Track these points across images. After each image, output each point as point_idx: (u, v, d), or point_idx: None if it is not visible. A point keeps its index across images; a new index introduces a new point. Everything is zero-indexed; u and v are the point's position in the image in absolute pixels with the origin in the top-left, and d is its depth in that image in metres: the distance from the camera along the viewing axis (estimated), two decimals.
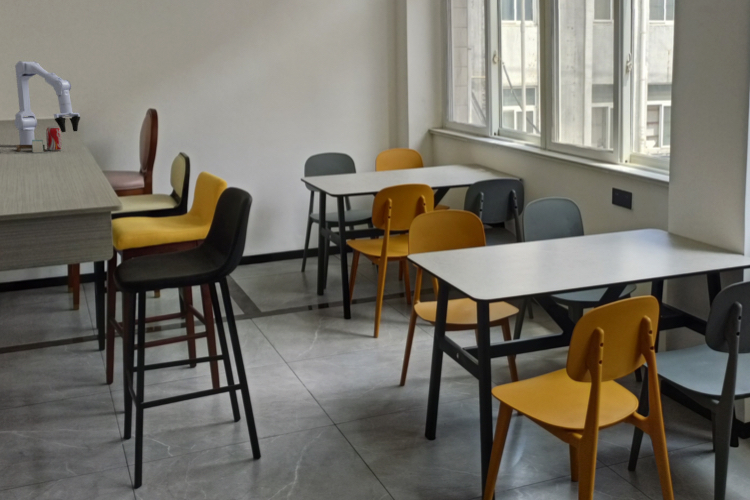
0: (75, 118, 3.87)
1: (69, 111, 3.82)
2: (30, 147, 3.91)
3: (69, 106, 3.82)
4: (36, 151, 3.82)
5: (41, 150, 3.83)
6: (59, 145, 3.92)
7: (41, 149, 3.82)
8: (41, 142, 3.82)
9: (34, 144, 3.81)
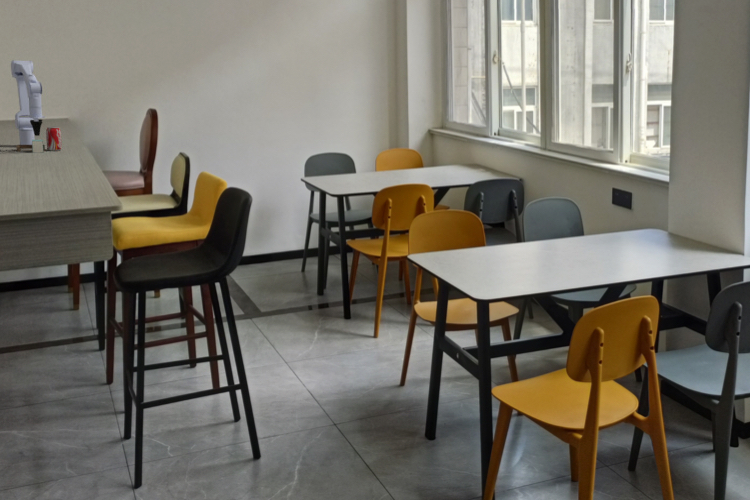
0: (39, 121, 3.85)
1: (41, 115, 3.81)
2: (30, 147, 3.91)
3: (41, 110, 3.80)
4: (36, 151, 3.82)
5: (41, 150, 3.83)
6: (59, 145, 3.92)
7: (41, 149, 3.82)
8: (41, 142, 3.82)
9: (34, 144, 3.81)
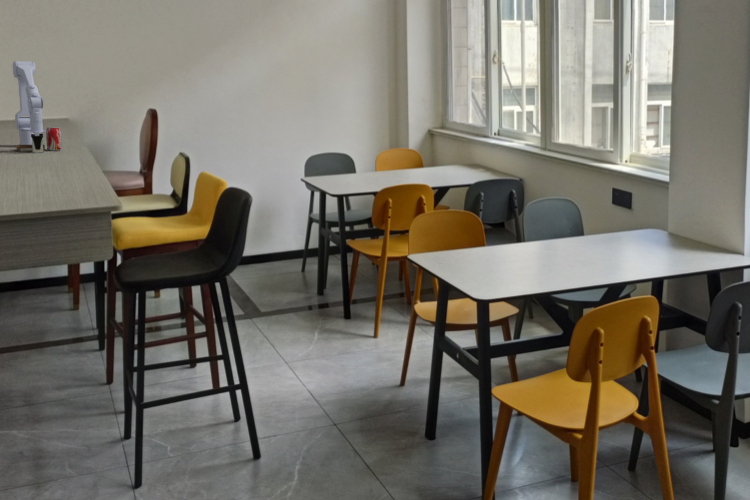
0: (40, 135, 3.85)
1: (42, 129, 3.82)
2: (30, 147, 3.91)
3: (42, 124, 3.82)
4: (36, 151, 3.82)
5: (41, 150, 3.83)
6: (59, 145, 3.92)
7: (41, 149, 3.82)
8: (41, 142, 3.82)
9: None
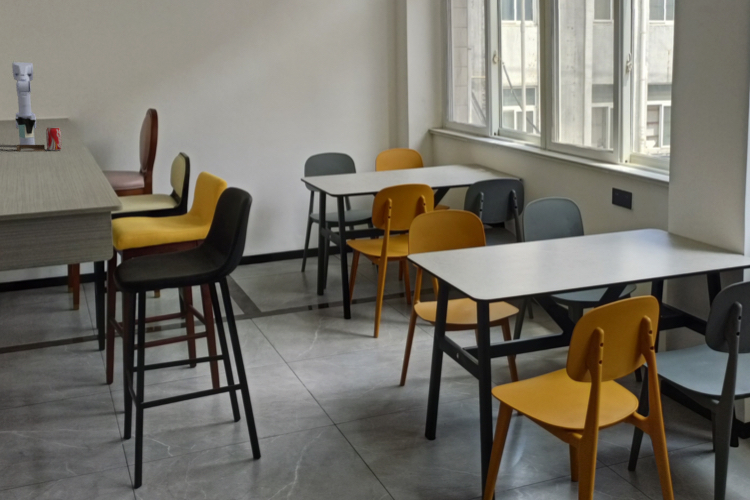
0: None
1: None
2: (30, 147, 3.91)
3: None
4: (27, 136, 3.84)
5: (32, 135, 3.86)
6: (59, 145, 3.92)
7: (32, 134, 3.86)
8: None
9: (25, 129, 3.83)
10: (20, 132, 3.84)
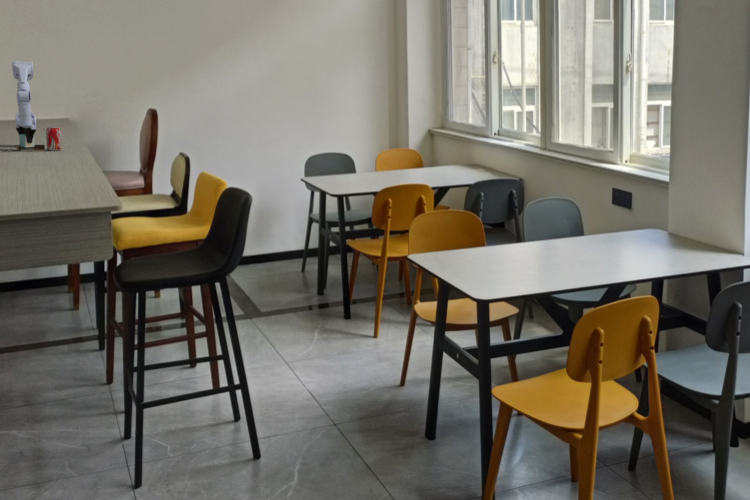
0: (25, 129, 3.88)
1: None
2: (30, 147, 3.91)
3: None
4: (28, 146, 3.85)
5: (32, 144, 3.87)
6: (59, 145, 3.92)
7: (32, 143, 3.87)
8: None
9: (26, 139, 3.84)
10: (20, 142, 3.86)
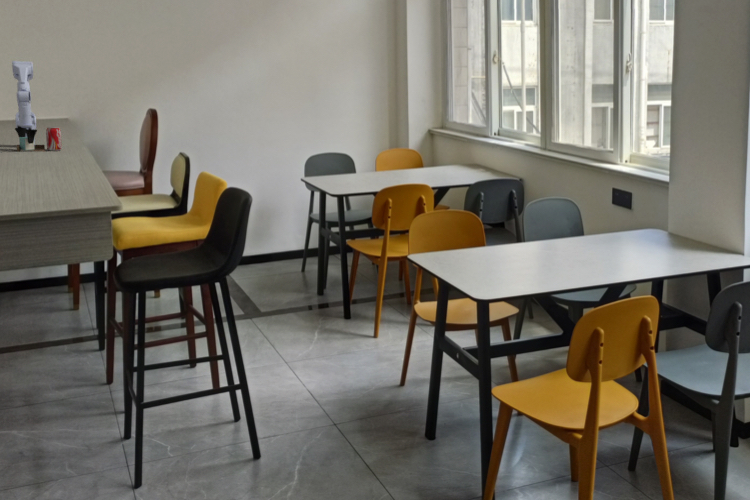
0: (24, 129, 3.89)
1: None
2: None
3: None
4: (28, 148, 3.85)
5: (33, 147, 3.87)
6: (59, 145, 3.92)
7: (33, 146, 3.87)
8: None
9: (26, 141, 3.84)
10: (21, 145, 3.86)
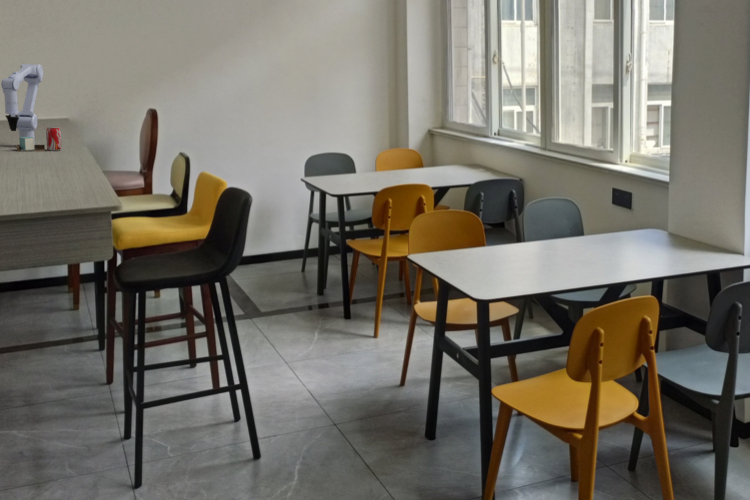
0: (15, 116, 3.88)
1: (17, 110, 3.84)
2: None
3: (17, 105, 3.84)
4: (28, 148, 3.85)
5: (33, 147, 3.87)
6: (59, 145, 3.92)
7: (33, 146, 3.87)
8: (32, 139, 3.86)
9: (26, 141, 3.84)
10: (21, 145, 3.86)
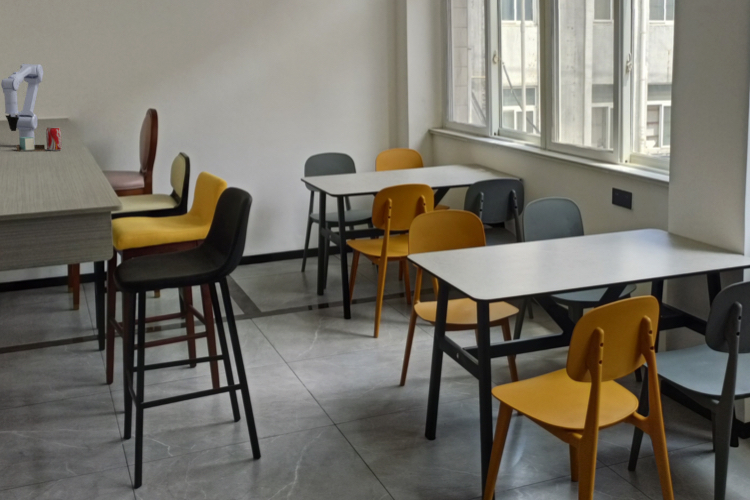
0: (14, 116, 3.88)
1: (17, 110, 3.84)
2: None
3: (17, 105, 3.84)
4: (28, 148, 3.85)
5: (33, 147, 3.87)
6: (59, 145, 3.92)
7: (33, 146, 3.87)
8: (32, 139, 3.86)
9: (26, 141, 3.84)
10: (21, 145, 3.86)
